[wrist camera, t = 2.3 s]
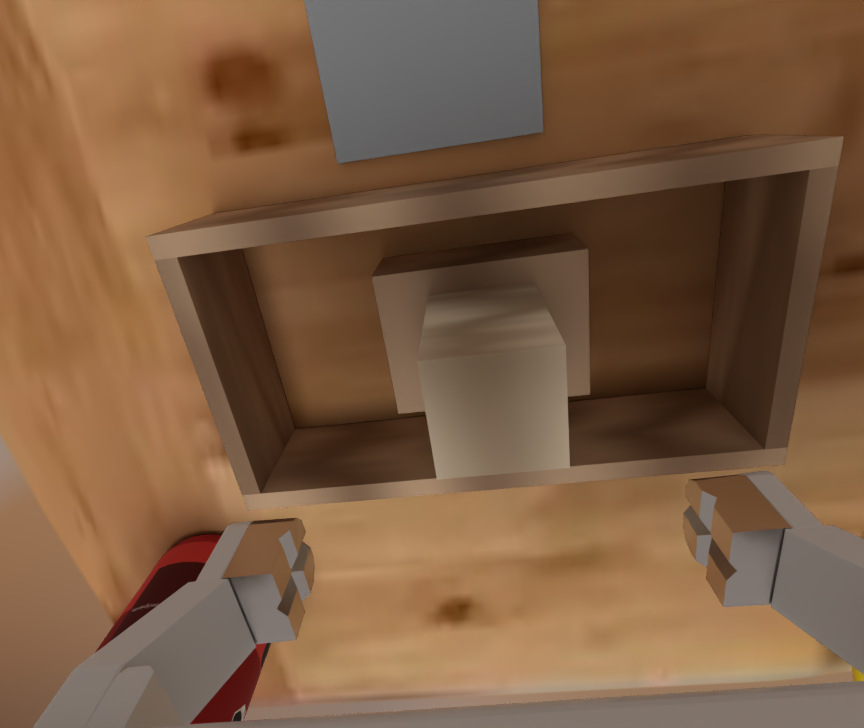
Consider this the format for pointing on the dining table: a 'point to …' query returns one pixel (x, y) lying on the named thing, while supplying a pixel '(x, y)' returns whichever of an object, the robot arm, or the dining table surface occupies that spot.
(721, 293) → the crate
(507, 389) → the block
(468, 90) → the mat
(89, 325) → the dining table surface
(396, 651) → the dining table surface
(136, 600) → the canned food
